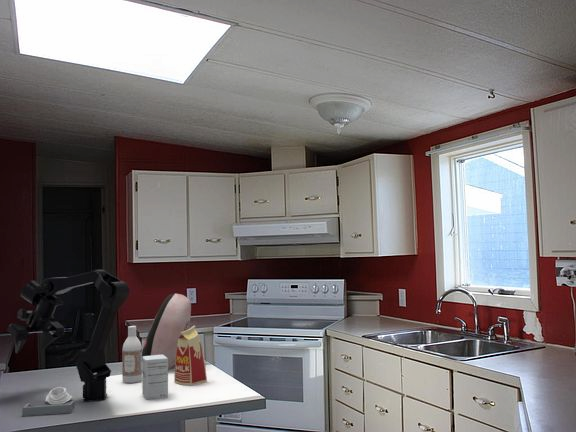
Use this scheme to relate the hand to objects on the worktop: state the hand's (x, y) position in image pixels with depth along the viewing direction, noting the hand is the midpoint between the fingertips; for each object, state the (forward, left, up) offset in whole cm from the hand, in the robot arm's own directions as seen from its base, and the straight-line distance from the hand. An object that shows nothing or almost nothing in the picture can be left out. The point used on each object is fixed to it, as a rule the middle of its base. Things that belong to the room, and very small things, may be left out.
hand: (28, 351), depth 188 cm
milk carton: (-55, -1, -14) cm, 56 cm away
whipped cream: (-14, +15, -14) cm, 25 cm away
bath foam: (-34, -8, -14) cm, 37 cm away
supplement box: (-44, +15, -14) cm, 48 cm away
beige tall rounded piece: (-45, -30, -14) cm, 56 cm away
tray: (-14, +27, -14) cm, 33 cm away
